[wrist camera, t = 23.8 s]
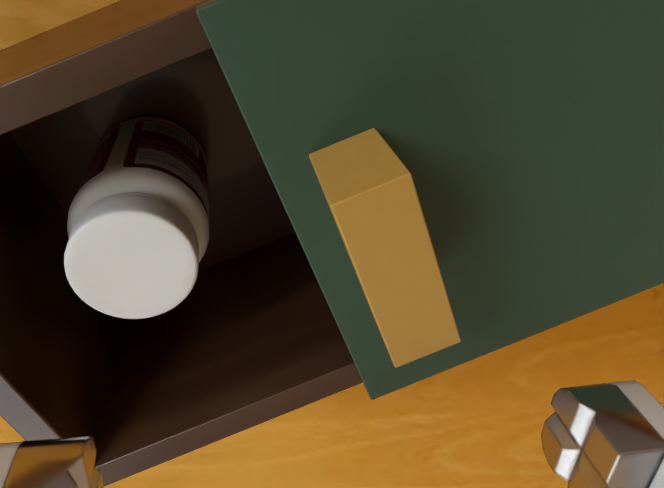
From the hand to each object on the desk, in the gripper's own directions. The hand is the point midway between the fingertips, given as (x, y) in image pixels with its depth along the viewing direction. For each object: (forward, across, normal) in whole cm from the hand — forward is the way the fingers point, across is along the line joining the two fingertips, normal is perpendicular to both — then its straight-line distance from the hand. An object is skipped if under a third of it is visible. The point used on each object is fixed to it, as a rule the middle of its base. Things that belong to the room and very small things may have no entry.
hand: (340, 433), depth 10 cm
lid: (+7, -6, -3) cm, 10 cm away
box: (+18, +4, +2) cm, 19 cm away
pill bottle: (+18, +5, +2) cm, 18 cm away
